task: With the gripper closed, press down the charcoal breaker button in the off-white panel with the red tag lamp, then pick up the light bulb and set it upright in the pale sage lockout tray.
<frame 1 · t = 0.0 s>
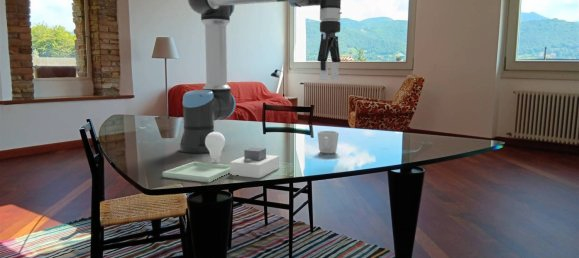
hand: (329, 79, 157), 28 cm above the table, fingers open, 13 cm apart
lockout tray: (201, 173, 129), on the table
breaker button: (255, 155, 131), point 5 cm above the table, slide at 0.0 cm
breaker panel: (255, 171, 132), on the table
cup: (327, 153, 161), on the table
light bulb: (215, 164, 142), on the table
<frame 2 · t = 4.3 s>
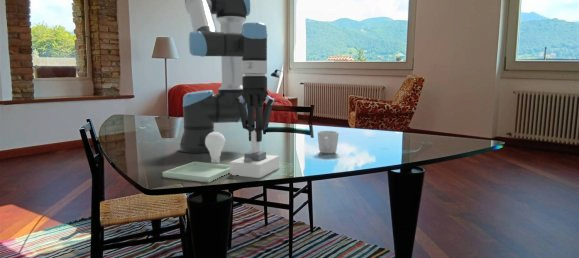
hand: (255, 151, 131), 6 cm above the table, fingers closed
breaker button: (255, 158, 131), point 4 cm above the table, slide at 1.1 cm, touching gripper
everything else where it was.
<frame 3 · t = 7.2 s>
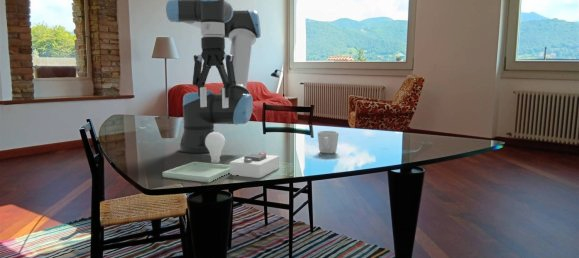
hand: (214, 107, 139), 19 cm above the table, fingers open, 8 cm apart
breaker button: (255, 161, 131), point 3 cm above the table, slide at 2.0 cm
everything else where it was.
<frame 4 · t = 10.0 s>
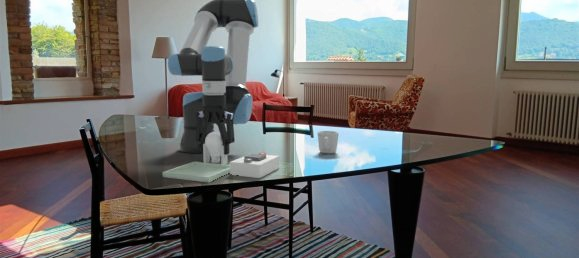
hand: (215, 162, 142), 0 cm above the table, fingers closed on light bulb, 6 cm apart
light bulb: (215, 164, 142), on the table, touching gripper
everything else where it was.
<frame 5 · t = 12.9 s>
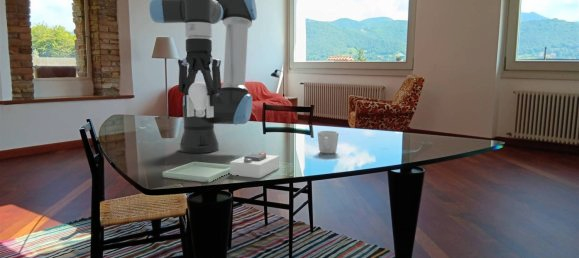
hand: (200, 116, 127), 17 cm above the table, fingers closed on light bulb, 6 cm apart
light bulb: (200, 118, 127), point 17 cm above the table, touching gripper
everything else where it was.
when the fingers open (2 cm above the table, at t = 16.2 s): light bulb drops 1 cm, resting on lockout tray.
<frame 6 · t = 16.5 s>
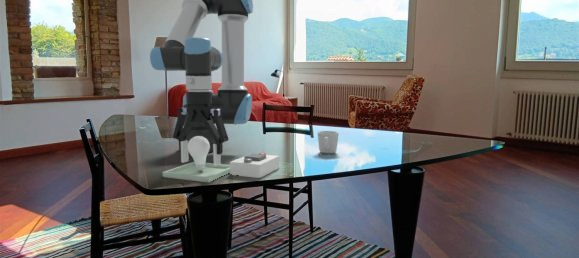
hand: (200, 163, 128), 3 cm above the table, fingers open, 11 cm apart
light bulb: (201, 172, 129), resting on lockout tray
everything else where it was.
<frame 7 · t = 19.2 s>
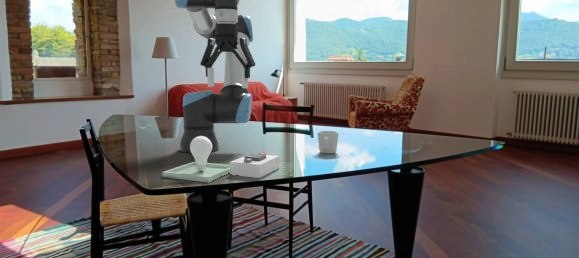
hand: (227, 87, 144), 25 cm above the table, fingers open, 13 cm apart
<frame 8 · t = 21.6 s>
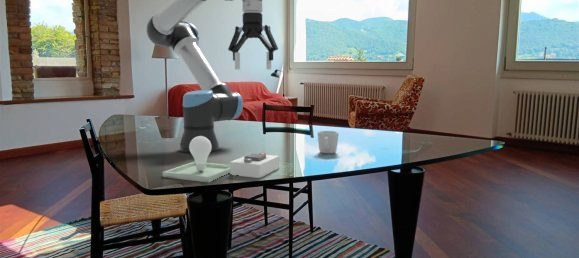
hand: (252, 69, 163), 32 cm above the table, fingers open, 13 cm apart
nothing on the table moved.
at the end: breaker button slide at 2.0 cm; light bulb inside the target area on the lockout tray (0.1 cm from its centre), point 0.3 cm above the lockout tray's base; light bulb tilted 0° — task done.
